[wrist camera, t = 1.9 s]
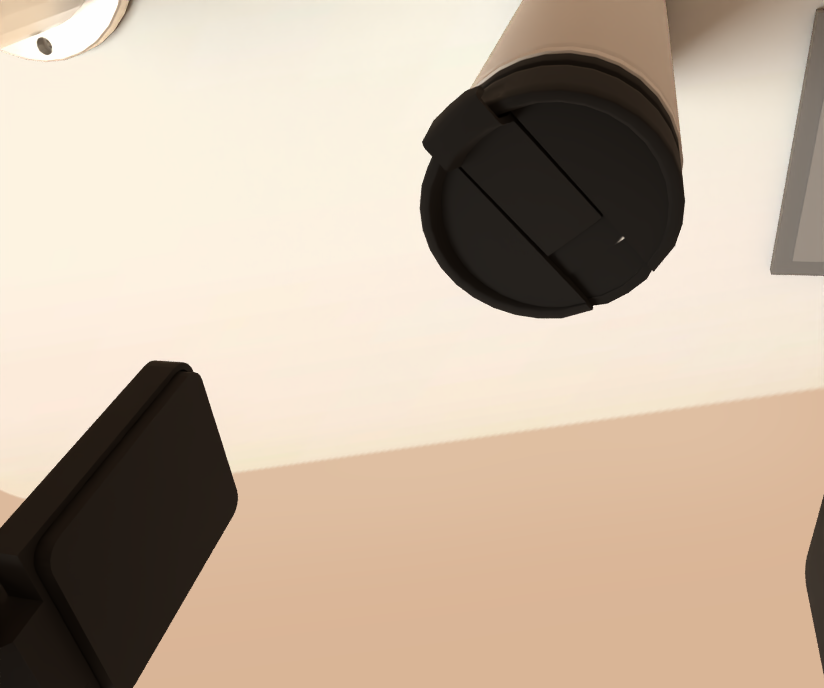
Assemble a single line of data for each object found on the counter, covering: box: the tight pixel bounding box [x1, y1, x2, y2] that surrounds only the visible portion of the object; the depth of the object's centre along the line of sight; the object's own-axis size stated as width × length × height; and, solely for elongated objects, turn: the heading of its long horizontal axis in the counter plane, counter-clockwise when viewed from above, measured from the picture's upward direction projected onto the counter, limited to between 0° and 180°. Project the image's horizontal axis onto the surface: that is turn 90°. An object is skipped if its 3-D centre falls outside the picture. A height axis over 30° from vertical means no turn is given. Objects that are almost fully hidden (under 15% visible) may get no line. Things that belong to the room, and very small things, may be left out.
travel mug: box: [420, 0, 685, 318], centre depth 26 cm, size 6×7×20 cm
